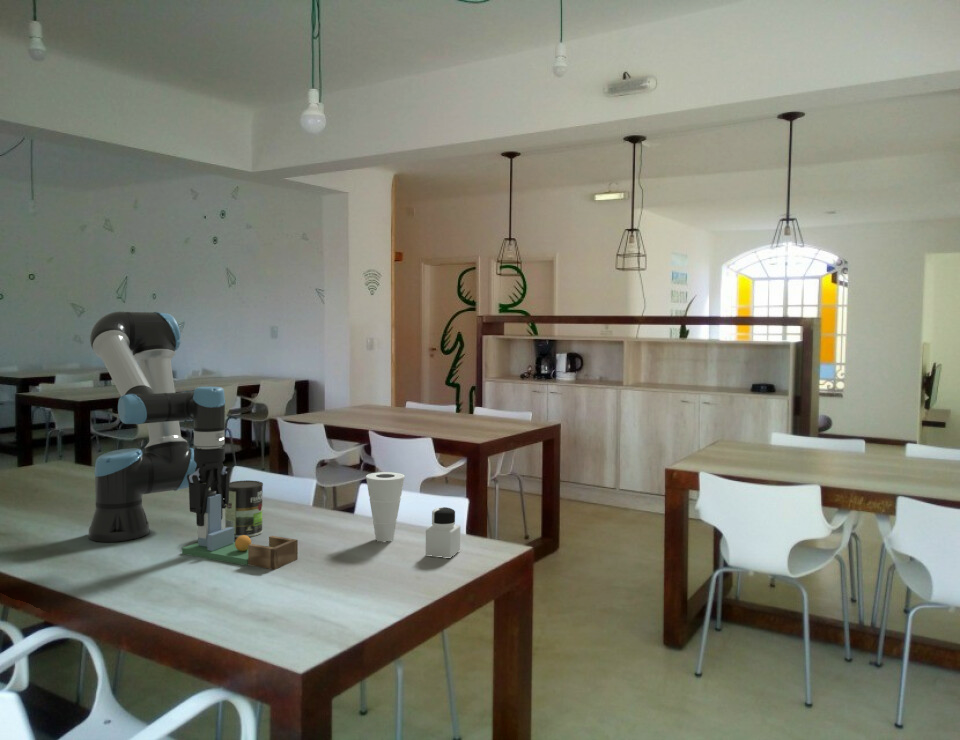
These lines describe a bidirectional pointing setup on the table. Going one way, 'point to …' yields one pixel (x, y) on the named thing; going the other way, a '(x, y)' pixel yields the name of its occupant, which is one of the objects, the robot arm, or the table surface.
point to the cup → (385, 502)
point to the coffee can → (244, 508)
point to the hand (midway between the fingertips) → (209, 535)
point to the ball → (242, 543)
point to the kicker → (215, 525)
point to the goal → (273, 553)
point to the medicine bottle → (443, 533)
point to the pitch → (218, 553)
